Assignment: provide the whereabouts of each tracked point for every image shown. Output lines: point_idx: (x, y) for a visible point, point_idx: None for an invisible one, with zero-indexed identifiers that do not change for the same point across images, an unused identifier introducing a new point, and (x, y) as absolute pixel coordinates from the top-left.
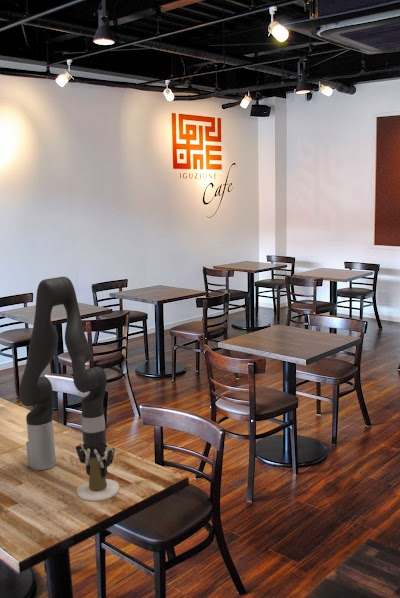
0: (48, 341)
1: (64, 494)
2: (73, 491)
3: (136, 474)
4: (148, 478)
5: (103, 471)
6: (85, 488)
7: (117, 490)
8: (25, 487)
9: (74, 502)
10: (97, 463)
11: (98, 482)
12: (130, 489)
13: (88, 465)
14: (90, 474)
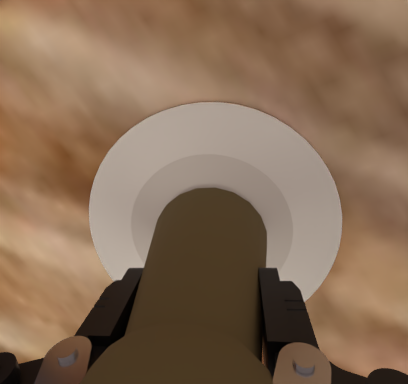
0: None
1: (404, 123)
2: (360, 177)
3: None
4: None
5: (106, 311)
6: (284, 208)
7: (95, 244)
8: None
9: (276, 51)
10: (91, 374)
11: (164, 228)
12: (70, 283)
13: (278, 350)
14: (230, 260)
